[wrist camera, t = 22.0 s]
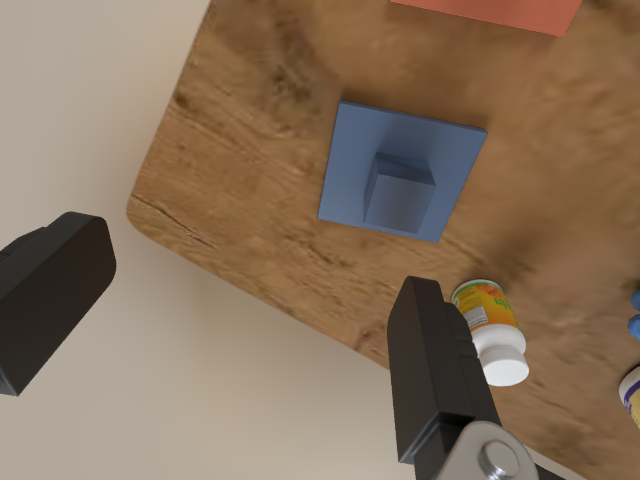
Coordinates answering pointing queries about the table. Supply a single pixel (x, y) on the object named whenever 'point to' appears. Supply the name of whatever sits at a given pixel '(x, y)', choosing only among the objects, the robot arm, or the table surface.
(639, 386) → the supplement tub
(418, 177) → the slate block
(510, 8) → the terracotta mat
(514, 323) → the supplement bottle
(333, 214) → the slate mat
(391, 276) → the table surface
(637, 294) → the grapes
